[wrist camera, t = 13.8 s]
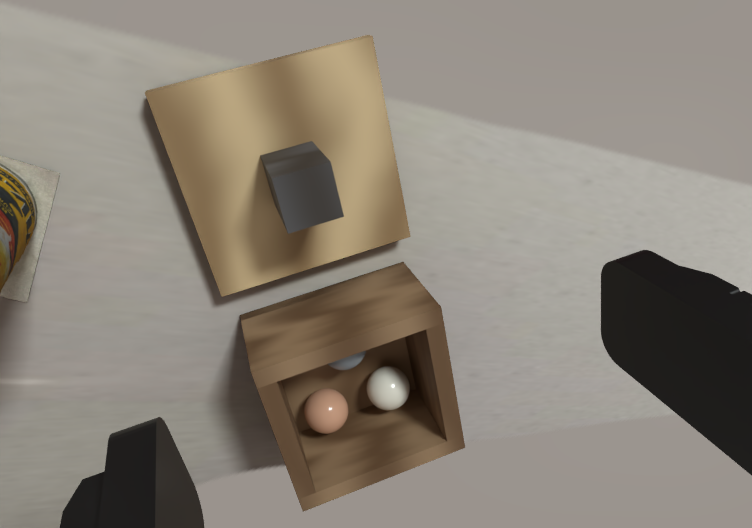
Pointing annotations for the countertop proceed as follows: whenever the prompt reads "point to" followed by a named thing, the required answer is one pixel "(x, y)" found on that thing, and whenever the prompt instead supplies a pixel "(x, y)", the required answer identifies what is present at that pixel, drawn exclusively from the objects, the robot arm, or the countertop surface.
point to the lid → (285, 162)
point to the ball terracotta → (326, 410)
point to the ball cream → (388, 388)
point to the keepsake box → (355, 380)
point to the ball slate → (348, 362)
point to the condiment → (22, 223)
